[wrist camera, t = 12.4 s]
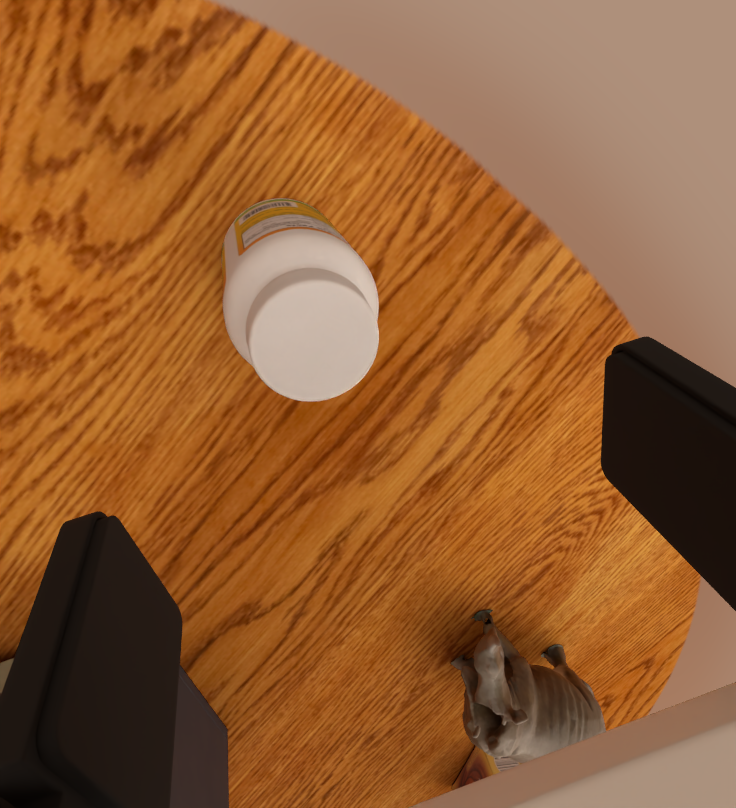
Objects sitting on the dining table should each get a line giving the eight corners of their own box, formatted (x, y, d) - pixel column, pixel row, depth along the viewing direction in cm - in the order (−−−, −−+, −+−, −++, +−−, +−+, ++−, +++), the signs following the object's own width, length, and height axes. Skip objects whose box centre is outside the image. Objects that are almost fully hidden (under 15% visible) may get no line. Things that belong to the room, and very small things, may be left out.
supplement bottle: (302, 334, 26) (341, 445, 18) (199, 279, 24) (190, 379, 15) (363, 239, 24) (436, 313, 16) (259, 169, 22) (284, 216, 14)
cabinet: (-64, 687, 32) (-159, 890, 24) (144, 615, 33) (120, 785, 25) (63, 789, 40) (25, 967, 32) (227, 729, 41) (230, 885, 33)
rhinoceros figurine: (531, 731, 47) (571, 887, 33) (421, 619, 49) (411, 721, 34) (596, 673, 47) (667, 808, 32) (481, 561, 48) (499, 640, 33)
